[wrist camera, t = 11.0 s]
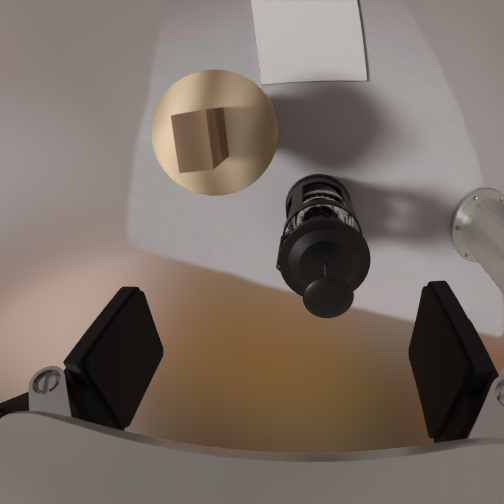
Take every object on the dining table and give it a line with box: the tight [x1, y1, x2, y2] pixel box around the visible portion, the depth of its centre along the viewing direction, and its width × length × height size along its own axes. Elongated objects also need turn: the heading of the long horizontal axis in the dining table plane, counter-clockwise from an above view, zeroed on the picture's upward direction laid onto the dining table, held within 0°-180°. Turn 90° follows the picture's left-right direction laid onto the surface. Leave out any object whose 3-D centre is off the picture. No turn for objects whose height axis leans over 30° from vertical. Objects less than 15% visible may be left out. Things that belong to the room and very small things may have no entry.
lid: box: [151, 70, 279, 195], centre depth 28 cm, size 13×13×7 cm
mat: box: [251, 0, 367, 85], centre depth 34 cm, size 14×14×1 cm
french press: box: [276, 174, 370, 318], centre depth 36 cm, size 12×9×23 cm
